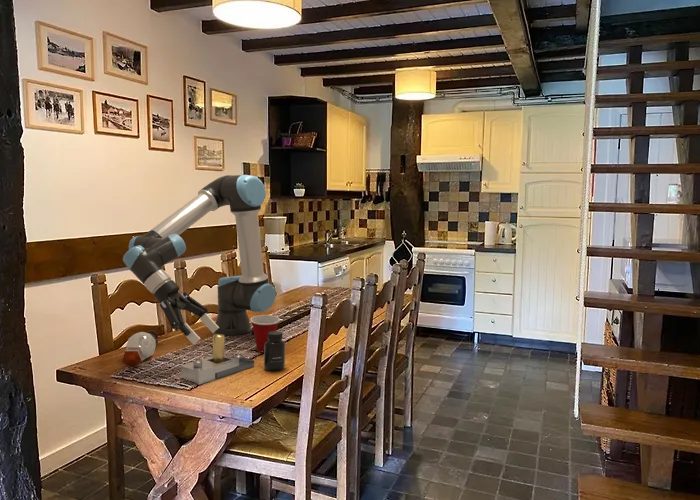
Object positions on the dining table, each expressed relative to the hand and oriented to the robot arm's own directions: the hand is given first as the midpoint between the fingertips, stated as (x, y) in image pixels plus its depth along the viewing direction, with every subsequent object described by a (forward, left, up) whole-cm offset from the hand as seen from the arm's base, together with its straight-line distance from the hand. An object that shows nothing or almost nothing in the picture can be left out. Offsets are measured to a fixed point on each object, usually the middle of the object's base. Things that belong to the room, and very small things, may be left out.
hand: (207, 336), depth 162 cm
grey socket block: (+1, +3, -12) cm, 12 cm away
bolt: (-6, -42, -12) cm, 44 cm away
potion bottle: (+8, -26, -12) cm, 29 cm away
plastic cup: (-28, -3, -12) cm, 31 cm away
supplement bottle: (-16, +14, -12) cm, 24 cm away
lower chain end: (-5, +3, -12) cm, 13 cm away
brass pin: (-2, +3, -12) cm, 12 cm away
